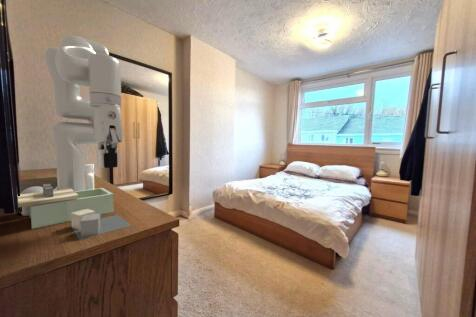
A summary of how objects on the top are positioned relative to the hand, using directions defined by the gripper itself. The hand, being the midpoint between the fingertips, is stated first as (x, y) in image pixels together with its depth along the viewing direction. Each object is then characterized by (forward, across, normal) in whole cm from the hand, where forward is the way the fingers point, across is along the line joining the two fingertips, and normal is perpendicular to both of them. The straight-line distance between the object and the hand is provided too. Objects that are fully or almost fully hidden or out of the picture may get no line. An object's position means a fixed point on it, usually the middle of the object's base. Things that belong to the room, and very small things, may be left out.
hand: (107, 165), depth 59 cm
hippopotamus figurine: (+17, +26, +12) cm, 33 cm away
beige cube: (+17, +2, +6) cm, 18 cm away
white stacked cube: (0, 0, 0) cm, 0 cm away
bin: (+17, +14, +6) cm, 23 cm away
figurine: (+17, +28, -1) cm, 33 cm away
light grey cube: (+17, -4, +5) cm, 18 cm away
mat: (+17, -2, +2) cm, 17 cm away
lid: (+10, +15, +12) cm, 21 cm away
